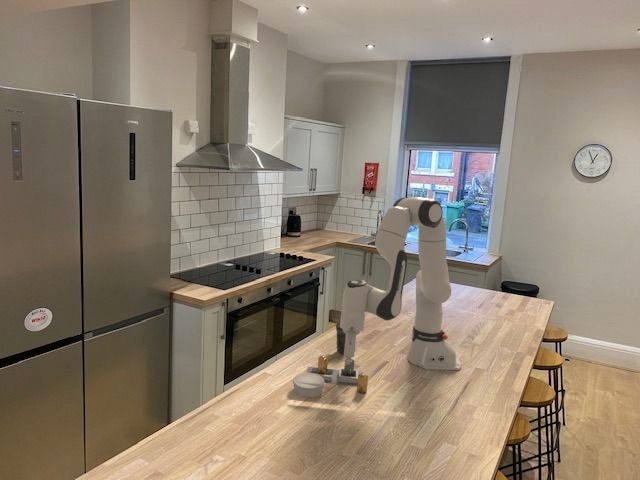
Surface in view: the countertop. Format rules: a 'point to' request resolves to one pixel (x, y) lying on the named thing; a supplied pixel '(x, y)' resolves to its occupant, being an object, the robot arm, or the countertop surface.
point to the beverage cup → (340, 338)
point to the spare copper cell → (322, 365)
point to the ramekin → (308, 384)
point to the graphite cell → (349, 369)
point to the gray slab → (337, 376)
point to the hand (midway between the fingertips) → (348, 358)
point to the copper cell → (362, 383)
